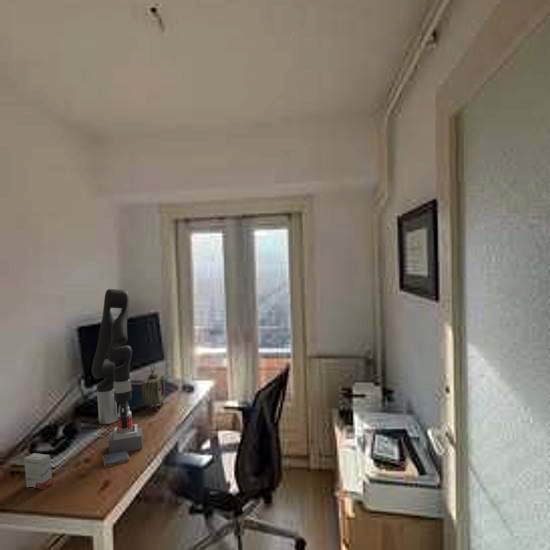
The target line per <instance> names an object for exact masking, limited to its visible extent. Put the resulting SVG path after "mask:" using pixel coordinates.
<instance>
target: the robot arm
mask: <svg viewBox="0 0 550 550" xmlns="http://www.w3.org/2000/svg"><path fill="white" fill-rule="evenodd" d="M129 294H130V293H129V292H128V291H127V290H125V289H114V288H113V289H112V288H108V289H107V290H106V291H105V294H104V299H103V310H102V318H101V323H100V327H99V331H98V340H97V346H96V350H95V354H94V356H93V361H92V364H91V375H92V376H93V378H94V379H96V380H97V379H102V381H101V382H99V383H98V384H97V385H96V396H97V399H96V400H97V410H98V423H99V424H100V425H109V424H112V423H113V424H114V423H115V422H118V418H117V415H118V410H119V409H120V417H121V419H120V420H121V421H122V429H126V428H127V415H128V406H129V402H130V401H131V400H132V399H133V396H132V395H133V394H132V392H133V391H132V383H131V382H132V381H131V376H130V371H131V370H130V368H131V361H132V356H133V349H132V347H131V346H130V345H125V344H126V343H127V342H128V317H129V302H130V295H129ZM111 309H121V311H120V312H119V315H118V316H117V317H116V318H115V319H114V317H113V315H112V312H111ZM106 357H107V358H106ZM123 362H124V363H123ZM116 363H122V364H121V365H119V366H116ZM103 378H104V379H103ZM117 403H119V405H117ZM117 406H118V407H117ZM122 416H125V418H122Z"/></svg>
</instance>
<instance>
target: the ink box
mask: <svg viewBox="0 0 550 550" xmlns="http://www.w3.org/2000/svg"><path fill="white" fill-rule="evenodd" d="M23 463H24V472H25V485H26V488H28V487H34V488H42V489H44V488H45V487H47V486H49V485H50V484H51V485H53V484H54V483H53V474H52V473H53V472H52V463H51V454H43V453H38V452H33V453H31V454H29V455H28V456H26V457H24V458H23ZM52 483H53V484H52ZM51 485H50V486H51ZM50 486H49V487H50ZM34 488H33V489H34ZM47 488H48V487H47ZM45 489H46V488H45ZM45 489H44V490H45Z"/></svg>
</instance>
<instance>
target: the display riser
mask: <svg viewBox="0 0 550 550" xmlns="http://www.w3.org/2000/svg"><path fill="white" fill-rule="evenodd" d="M143 441H144V438H143V427H138V423H135V424H132V431H131V432H129V433H119V431H118V426H116V427H114V430H113V431H110V433H109V437H108V450H109V451H108V454H110V455H111V453H112V455H113V453H114V454H115V452H116V453H117V452H119V451H120V452H121V451H122V450H123V451H124V450H125V451H126V452H132V451H137V450H143V449H142V448H143V446H144V445H143V443H144V442H143Z"/></svg>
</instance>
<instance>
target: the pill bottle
mask: <svg viewBox="0 0 550 550" xmlns="http://www.w3.org/2000/svg"><path fill="white" fill-rule="evenodd" d="M117 418H118V420H117V427H118V431H119V433H129V432H131V431H132V425H133V416H132V411H131V410H130V406H129V405H128V415H127V428H126V429H122V421H121V420H120V419H121V417H120V409H119V408H118V412H117ZM122 418H125V416H122Z"/></svg>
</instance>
